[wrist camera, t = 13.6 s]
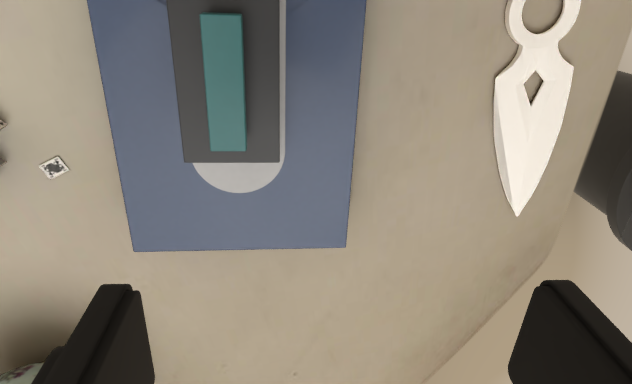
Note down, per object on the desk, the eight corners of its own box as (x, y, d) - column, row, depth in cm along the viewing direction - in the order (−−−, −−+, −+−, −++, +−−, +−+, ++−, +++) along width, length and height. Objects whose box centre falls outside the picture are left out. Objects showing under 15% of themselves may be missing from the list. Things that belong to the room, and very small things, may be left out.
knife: (612, -194, 25) (621, -199, 25) (547, 210, 38) (552, 214, 38) (513, -182, 25) (520, -186, 24) (481, 219, 38) (485, 224, 37)
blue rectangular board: (376, -302, 22) (396, -355, 19) (338, 221, 37) (345, 247, 33) (55, -338, 21) (11, -402, 17) (147, 224, 35) (133, 252, 32)
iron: (175, -43, 23) (140, -50, 17) (285, -38, 24) (289, -43, 18) (197, 182, 30) (177, 237, 23) (284, 181, 30) (287, 235, 24)
